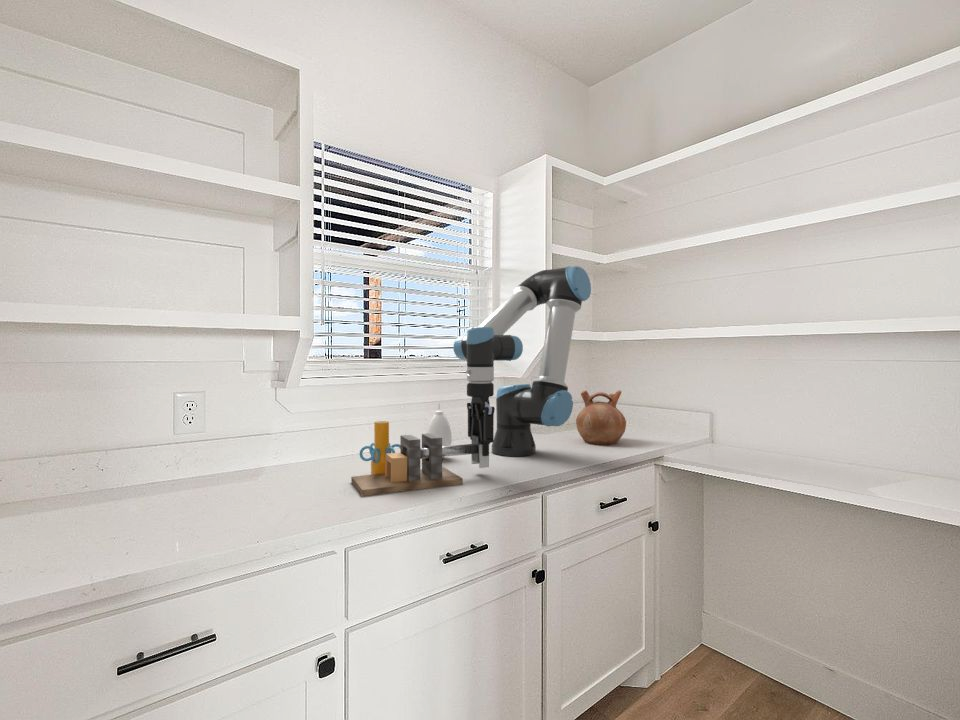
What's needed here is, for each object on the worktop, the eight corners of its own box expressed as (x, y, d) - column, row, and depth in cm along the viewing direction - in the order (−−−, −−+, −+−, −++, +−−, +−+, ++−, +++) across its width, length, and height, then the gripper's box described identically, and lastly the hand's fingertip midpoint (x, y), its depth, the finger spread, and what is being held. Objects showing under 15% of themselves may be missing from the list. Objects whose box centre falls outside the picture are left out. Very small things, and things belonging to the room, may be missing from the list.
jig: (443, 472, 144) (443, 430, 144) (462, 484, 131) (462, 438, 131) (351, 482, 133) (351, 437, 133) (362, 496, 120) (362, 446, 120)
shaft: (481, 458, 144) (481, 434, 144) (488, 461, 140) (488, 436, 139) (404, 466, 134) (404, 440, 134) (409, 469, 130) (409, 442, 130)
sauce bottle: (442, 462, 157) (442, 404, 157) (422, 459, 161) (422, 403, 161) (455, 457, 164) (455, 402, 164) (436, 455, 168) (436, 401, 168)
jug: (624, 439, 198) (624, 388, 198) (627, 447, 181) (627, 392, 180) (577, 437, 202) (577, 387, 202) (575, 445, 185) (575, 391, 184)
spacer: (400, 475, 135) (400, 452, 135) (407, 480, 129) (407, 457, 129) (385, 476, 133) (385, 453, 133) (391, 482, 127) (392, 458, 127)
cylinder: (391, 482, 133) (391, 425, 133) (354, 480, 135) (354, 424, 135) (407, 471, 145) (407, 419, 145) (373, 469, 147) (373, 418, 147)
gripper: (456, 380, 147) (456, 460, 148) (481, 384, 131) (481, 473, 132) (479, 380, 150) (479, 458, 151) (506, 383, 134) (506, 470, 135)
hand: (480, 465), depth 141 cm, fingers closed on shaft, 4 cm apart
